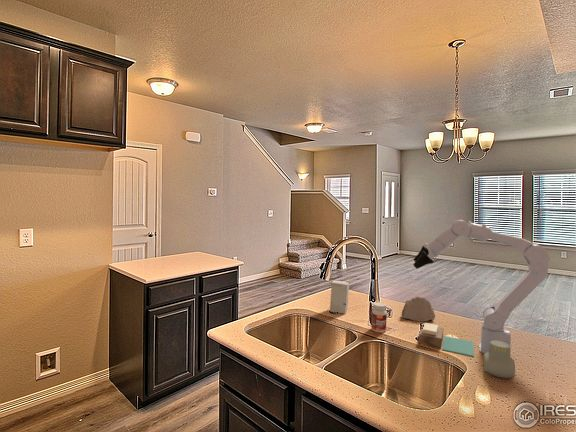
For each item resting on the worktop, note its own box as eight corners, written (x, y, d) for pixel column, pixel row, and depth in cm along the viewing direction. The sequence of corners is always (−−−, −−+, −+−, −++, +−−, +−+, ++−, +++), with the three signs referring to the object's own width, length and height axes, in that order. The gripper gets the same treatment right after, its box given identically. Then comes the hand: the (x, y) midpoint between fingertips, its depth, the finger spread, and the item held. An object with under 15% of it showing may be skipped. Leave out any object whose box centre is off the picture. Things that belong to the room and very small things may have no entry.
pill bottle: (376, 333, 141) (377, 307, 141) (368, 328, 147) (369, 302, 146) (389, 332, 143) (390, 306, 142) (380, 326, 149) (381, 301, 148)
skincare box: (329, 311, 167) (330, 282, 166) (332, 308, 172) (333, 279, 172) (346, 314, 164) (347, 284, 163) (348, 310, 170) (349, 281, 169)
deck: (442, 337, 138) (443, 328, 138) (440, 348, 128) (441, 338, 128) (422, 333, 142) (422, 324, 142) (418, 344, 132) (419, 334, 131)
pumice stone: (401, 319, 158) (402, 298, 158) (400, 314, 166) (401, 294, 165) (436, 323, 154) (437, 302, 154) (433, 318, 161) (434, 297, 161)
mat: (473, 342, 134) (473, 341, 134) (473, 356, 122) (473, 355, 122) (444, 336, 139) (444, 335, 139) (442, 350, 127) (442, 349, 127)
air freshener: (515, 385, 104) (517, 353, 103) (484, 377, 108) (486, 347, 107) (511, 369, 113) (513, 340, 113) (483, 363, 117) (485, 335, 117)
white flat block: (437, 328, 137) (437, 325, 137) (436, 335, 130) (436, 331, 130) (424, 326, 140) (424, 322, 140) (422, 332, 133) (422, 329, 133)
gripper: (433, 231, 141) (408, 252, 146) (434, 239, 128) (407, 261, 133) (446, 244, 140) (420, 264, 145) (448, 252, 126) (420, 275, 131)
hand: (415, 264), depth 139 cm, fingers open, 7 cm apart
